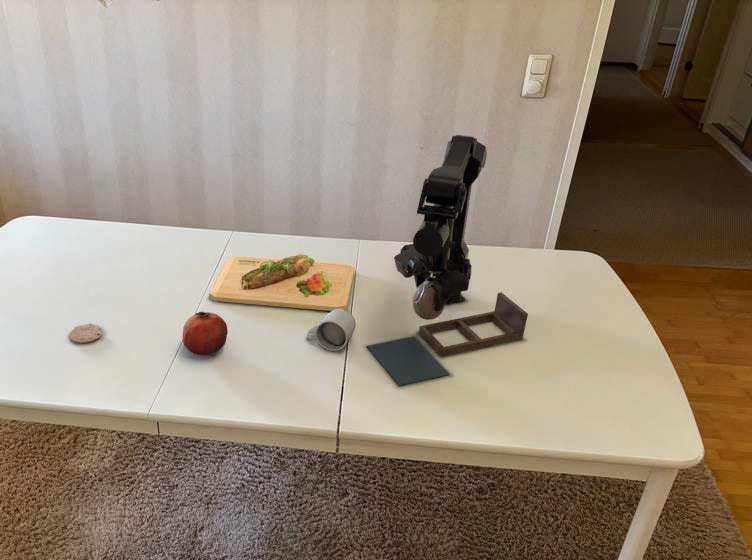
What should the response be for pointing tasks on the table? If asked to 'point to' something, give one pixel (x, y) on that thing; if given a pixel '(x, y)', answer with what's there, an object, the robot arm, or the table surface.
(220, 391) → the table surface
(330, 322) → the ceramic mug
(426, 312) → the vase
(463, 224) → the robot arm
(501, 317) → the cup stand
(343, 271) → the cutting board
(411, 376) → the mat
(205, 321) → the fruit
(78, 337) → the flatbread
